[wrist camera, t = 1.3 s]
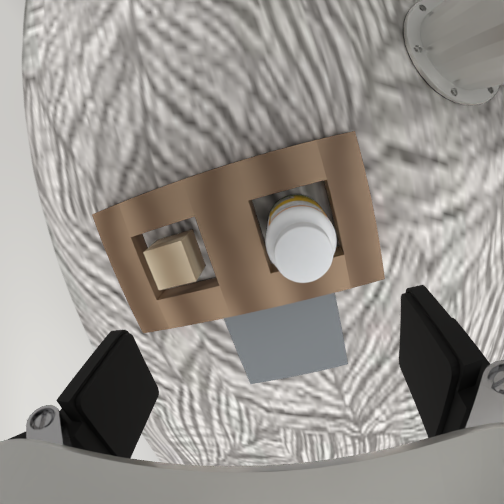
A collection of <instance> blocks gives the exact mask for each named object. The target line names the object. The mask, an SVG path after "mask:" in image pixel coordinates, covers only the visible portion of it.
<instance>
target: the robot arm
mask: <svg viewBox="0 0 504 504" xmlns="http://www.w3.org/2000/svg"><path fill="white" fill-rule="evenodd" d="M404 38H405V44H406V47H407V50H408V53H409V56H410V58H411V60H412V62H413V64H414V65H415V67H416V68H417V70H418V71H419V73H420V75H421V76H422V77H423V78H424V79H425V80H426V82H427V83H428V84H429V85H430V86H431V87H432V88H433V89H435V90H436V91H437V92H438V93H439V94H441V95H442V96H444V97H445V98H447V99H449V100H451V101H453V102H455V103H459V104H463V105H478V104H482V103H485V102H487V101H489V100H490V99H491V98H492V97H493V96H494V95H495V94H496V92H497V91H498V88H499V85H504V0H421V1H419V2H418V3H416V4H415V5H414V6H413V7H412V8H411V9H410V10H409V12H408V14H407V15H406V18H405V22H404ZM414 49H415V50H416V51H415V50H414ZM451 93H452V94H451ZM399 364H400V368H401V371H402V373H403V375H404V377H405V380H406V382H407V385H408V387H409V389H410V392H411V394H412V397H413V399H414V401H415V404H416V406H417V409H418V411H419V414H420V416H421V419H422V422H423V424H424V427H425V430H426V432H427V435H428V438H427V439H423V440H420V441H416V442H412V443H409V444H405V445H401V446H397V447H393V448H388V449H384V450H379V451H374V452H369V453H364V454H359V455H354V456H348V457H342V458H336V459H329V460H322V461H314V462H305V463H295V464H283V465H266V466H199V465H183V464H171V463H161V462H152V461H144V460H137V459H130V458H131V455H132V453H133V451H134V449H135V447H136V444H137V442H138V440H139V438H140V435H141V433H142V431H143V429H144V427H145V424H146V422H147V420H148V418H149V415H150V413H151V411H152V409H153V407H154V404H155V402H156V400H157V398H158V395H159V390H158V387H157V385H156V383H155V381H154V379H153V377H152V375H151V373H150V371H149V369H148V367H147V365H146V363H145V361H144V359H143V357H142V354H141V352H140V350H139V348H138V346H137V344H136V342H135V339H134V337H133V335H132V334H130V333H129V332H128V331H126V330H116V331H111V332H110V333H109V334H108V335H107V337H106V338H105V339H104V340H103V341H102V343H101V344H100V345H99V346H98V348H97V349H96V350H95V351H94V353H93V354H92V355H91V356H90V358H89V359H88V360H87V361H86V363H85V364H84V365H83V366H82V368H81V369H80V370H79V372H78V373H77V374H76V375H75V377H74V378H73V379H72V381H71V382H70V383H69V384H68V386H67V387H66V389H65V390H64V391H63V393H62V394H61V395H60V396H59V398H58V399H57V402H58V403H59V404H60V406H61V408H62V409H61V410H60V411H59V410H58V408H56V407H55V406H53V405H46V406H42V407H40V408H38V409H37V410H35V411H34V412H33V413H32V414H31V415H30V417H29V419H28V420H27V425H26V432H24V433H22V434H19V435H17V436H15V437H12V438H10V439H8V440H4V441H1V442H0V504H504V360H501V361H496V362H494V363H492V364H490V363H489V362H488V361H487V359H486V358H485V357H484V355H483V354H482V353H481V351H480V350H479V349H478V347H477V346H476V345H475V343H474V342H473V341H472V340H471V338H470V337H469V336H468V334H467V333H466V332H465V331H464V329H463V328H462V327H461V326H460V324H459V323H458V322H457V321H456V320H455V319H454V318H451V317H450V315H449V314H448V313H447V312H446V311H445V309H444V308H443V307H442V306H441V305H440V303H439V302H438V301H437V300H436V299H435V298H434V296H433V295H432V294H431V293H430V292H429V291H428V289H427V288H426V287H425V286H424V285H420V286H415V287H411V288H407V289H406V293H404V294H402V295H401V328H400V349H399Z"/></svg>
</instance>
